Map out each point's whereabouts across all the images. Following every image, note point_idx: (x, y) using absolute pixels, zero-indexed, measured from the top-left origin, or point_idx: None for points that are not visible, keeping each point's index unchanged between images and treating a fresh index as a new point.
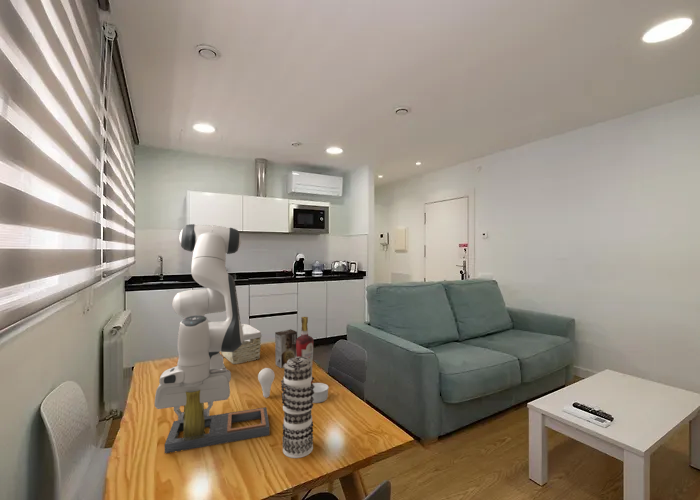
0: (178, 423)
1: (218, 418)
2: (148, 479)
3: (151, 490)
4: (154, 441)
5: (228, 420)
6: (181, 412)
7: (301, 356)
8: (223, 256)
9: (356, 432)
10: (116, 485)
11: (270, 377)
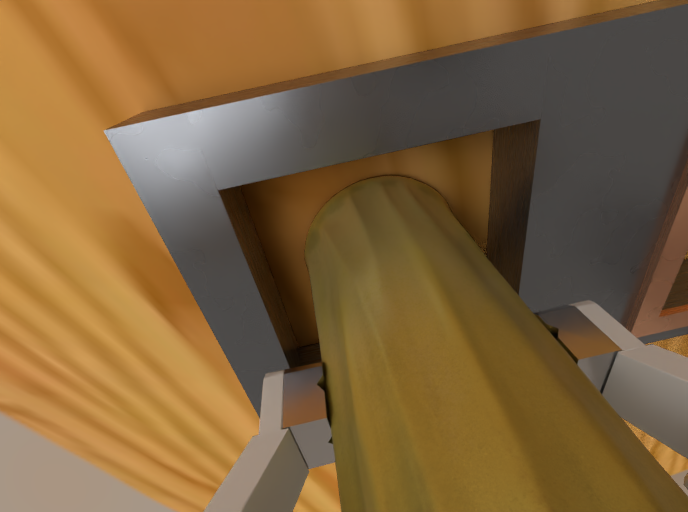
0: (203, 193)
1: (608, 132)
2: None
3: (330, 506)
4: (107, 284)
5: (684, 205)
6: (291, 432)
7: None
8: None
9: None
10: (193, 505)
11: None
